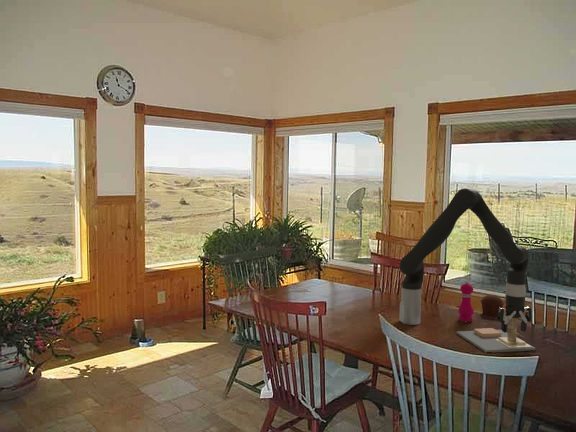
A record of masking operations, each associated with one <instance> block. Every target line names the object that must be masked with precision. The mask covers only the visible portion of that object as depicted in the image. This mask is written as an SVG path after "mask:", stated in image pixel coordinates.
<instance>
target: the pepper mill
mask: <svg viewBox="0 0 576 432" xmlns="http://www.w3.org/2000/svg"><path fill="white" fill-rule="evenodd" d="M460 292H461V293H460V294H461V303H460V305H459V307H458V310H457V312H458V314H459V315H458V320H459V321H460V320H461V322H464V321H466V322H465V323H471V322H472V321H473V315H474V313H475V311H474V307H473V305H472V300H471V299H472V295H473V294H472V293H474V287H473V285H472V284H470V282H469V280H465V282H464V283H462V284H461V286H460Z"/></svg>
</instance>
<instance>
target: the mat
mask: <svg viewBox="0 0 576 432" xmlns="http://www.w3.org/2000/svg"><path fill="white" fill-rule="evenodd" d="M496 330H497V331H499V332H501V337H508V331H507V332H506V333H504V332H503V331H502V330H501V329H496ZM456 335H458V336H459V337H461V338H463V339H464V340H466V341H467V342H469V343H470V344H472V345H473V346H475V347H476V348H477V349H479V350H481V351H483V352H484V353H486V354H488V353H487V352H492V353H504V352H505V353H506V352H507V353H508V352H525V351H528V352H530V351H536V347H534V346H533V345H531V344H529V343H527V342H526V344H528V345H530V346H532V347H525V348H508V347H506V346H505V345H503V344H501V343H500V342H498V341H496V340H495V339H498V337H481V336H479V335H477V334H476V333H474V330H460V331H459V330H458V331H456Z"/></svg>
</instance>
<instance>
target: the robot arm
mask: <svg viewBox="0 0 576 432" xmlns="http://www.w3.org/2000/svg"><path fill="white" fill-rule="evenodd" d="M468 210H469V211H471V212H472V213H474V215H475V216H476V218H478V219H479V221H480V223H481V224H482V226H483V228H484V230H485V232H486V233H487V234H488V236H489V237H490V238H491V240H492V241H493V243H495V244H496V245H497V247H498V248H499V251H500V252H501V254H502V256H503V257H504V258H505V260H506V261H507V262H508V263H510V266H509V269H508V270H507V273H506V285H505V298H504V299H505V301H504V305H505V307H502V308H500V307H499V308H498V315H497V317H496V321H498V323H501V325H500V330H502V331H503V332H504V333H506V332H507V333H508V321H509V320H511V318H517V319H520V321H521V322H520V332H523V333H525V332H526V331H527V325H528V323H529V322H530V323H531V322H532V319H533V318H532V308H531V307H529V306H526V294H527V293H526V292H527V291H526V289H527V287H526V277H527V276H526V273H527V269H528V265H529V259H530V258H529V257H530V256H529V251H528V250H527V248H526V247H524V246H520V245H517V244H516V243H515V241H514V240H513V235H512V234H511V233H510V232H509V230H507V228H506V227H505V226H504V225H503V224H502V223H501V221H500V220H499V219H498V218H497V217H496V216H495V214H494V213H493V212H492V210H491V208H490V207H489V206H488V205H487V203H486V202H485V200H484V198H483V197H482V195H481V194H480V192H479V191H478V190H477V189H475V188H471V187H470V188H469V187H465V188H461V189H459V190H458V191H456V193H455V194H454V195H453V198H452V199H451V201H450V202H449V204H448V205H447V206H446V208H445V209H444V210H443V212H441V213H440V215H439V216H438V217H437V218H436V219H435V220H434V221H433V222H432V224H431V225H430V226H429V227H428V228H427V230H426V231H425V232H424V234H423V235H422V236H421V237H420V239H419V240H418V241H417V243H416V244H415V245H414V246H413V248H411V250H409V251H408V252H407V253H406V254H405V255H404V256H403V257H402V258H401V259H400V261H399V270H400V272H401V273H402V274H404V275H405V276H404V278H403V280H402V282H401V301H400V302H399V316H398V317H399V319H398V321H399V322H401V323H402V324H403V325H408V326H409V325H410V326H414V325H415V326H416V325H420V324H421V307H422V304H421V303H422V285H423V282H424V274H425V271H424V270H425V262H424V260H425V259H426V258H427V256H429V255H430V254H431V253H433V252H434V251H435V250H437V249H439V247H441V246H442V245H443V244H444V243H445V242H446V240H447V239H448V237H449V238H450V235H451V234H452V232H453V230H454V227H455V225H456V224H457V221H458V220H459V219H460V217H462V216H463V215H464V214H465V213H466V212H467V211H468Z"/></svg>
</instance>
